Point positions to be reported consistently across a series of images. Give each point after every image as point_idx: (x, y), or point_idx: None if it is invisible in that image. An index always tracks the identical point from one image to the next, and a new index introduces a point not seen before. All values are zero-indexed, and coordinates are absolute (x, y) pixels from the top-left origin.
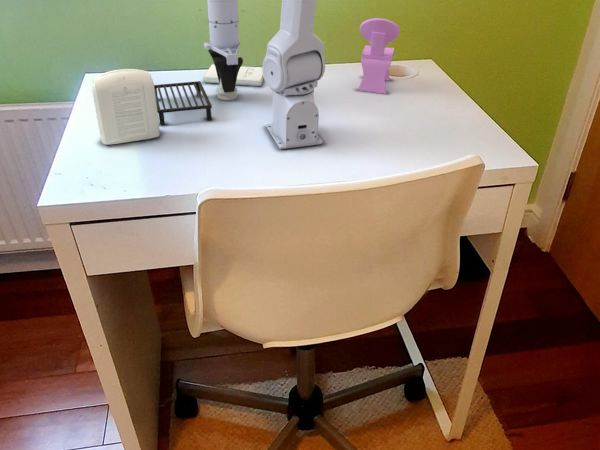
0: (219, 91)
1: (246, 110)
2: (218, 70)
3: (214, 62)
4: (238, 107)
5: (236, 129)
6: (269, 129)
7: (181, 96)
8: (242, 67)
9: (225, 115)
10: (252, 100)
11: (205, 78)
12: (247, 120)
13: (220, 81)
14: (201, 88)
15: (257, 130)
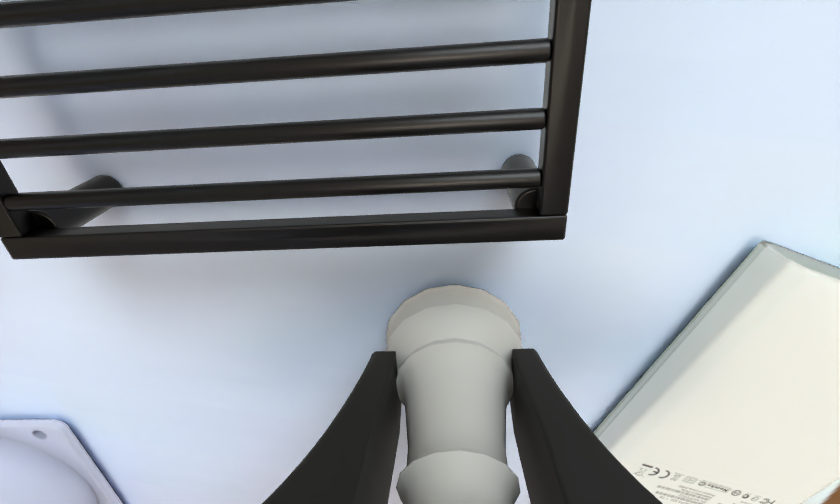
0: (417, 324)
1: (258, 381)
2: (344, 483)
3: (562, 497)
4: (298, 356)
5: (11, 306)
6: (6, 428)
7: (184, 11)
8: (804, 484)
9: (185, 283)
10: None
11: (771, 264)
12: (134, 365)
13: (446, 383)
14: (378, 229)
15: (28, 382)
